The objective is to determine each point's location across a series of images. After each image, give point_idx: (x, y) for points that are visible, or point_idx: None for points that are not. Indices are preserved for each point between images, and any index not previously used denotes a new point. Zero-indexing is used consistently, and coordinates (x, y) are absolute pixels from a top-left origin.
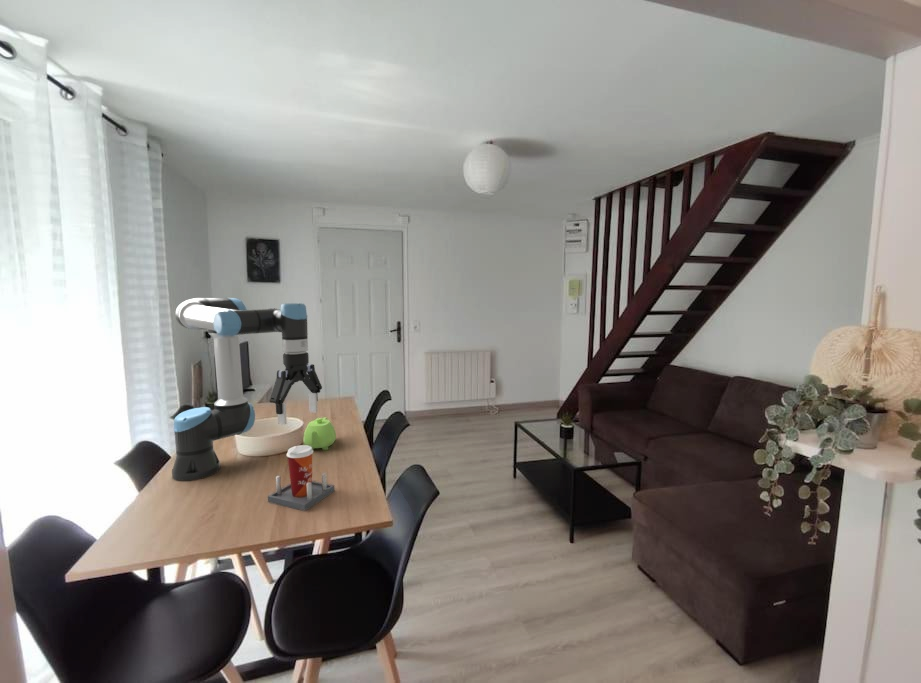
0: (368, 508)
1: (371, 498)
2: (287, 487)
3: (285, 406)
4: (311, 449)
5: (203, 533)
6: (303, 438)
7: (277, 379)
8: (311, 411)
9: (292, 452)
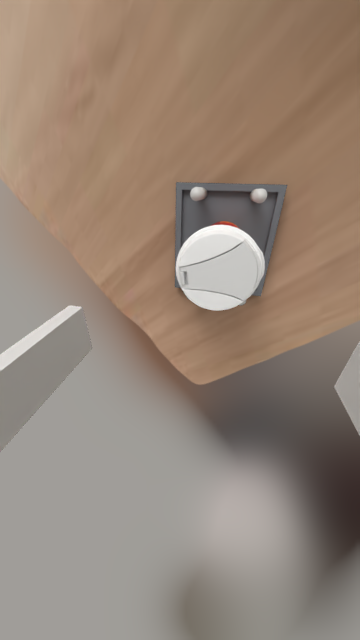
0: (215, 363)
1: (245, 357)
2: (232, 191)
3: (7, 439)
4: (229, 308)
5: (50, 158)
6: None
7: None
8: (352, 361)
9: (181, 273)
